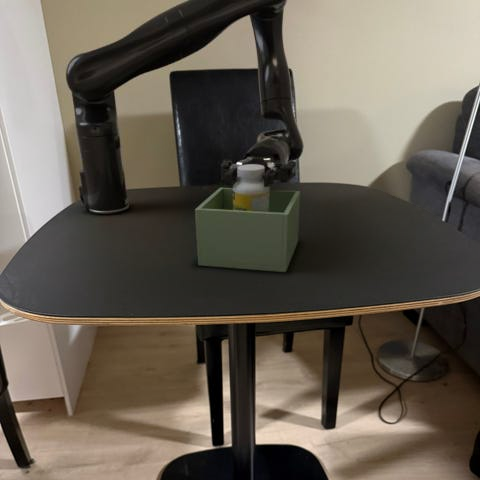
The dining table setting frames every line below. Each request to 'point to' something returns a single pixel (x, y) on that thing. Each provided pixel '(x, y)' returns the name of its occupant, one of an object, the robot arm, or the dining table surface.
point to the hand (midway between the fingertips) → (247, 180)
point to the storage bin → (247, 232)
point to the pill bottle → (251, 189)
